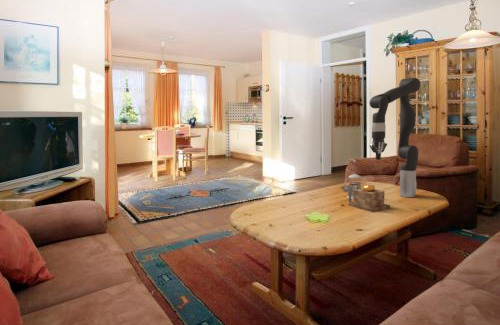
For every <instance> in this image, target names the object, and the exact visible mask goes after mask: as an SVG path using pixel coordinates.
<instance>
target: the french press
mask: <svg viewBox="0 0 500 325" xmlns="http://www.w3.org/2000/svg"><path fill="white" fill-rule="evenodd" d="M353 162H354V163H356V162H357V160H356V159H353ZM361 178H362V176H361V175H360V174H357V173H354V174H350V175H349V176H348V178H346V179H345V180H344V183H343V185H346V182H347V180H348V181H349V182H348V185H350V186H352V187H353V188H355V187H356V186H358V187H359V188H358V189H357V190H359V189H362V185H361V182H359V181H350V179H361ZM345 189H347V188H345ZM352 191H354V190H352ZM346 198H347V199H349V195H348V194H347V197H346ZM351 200H354V192H352V195H351Z"/></svg>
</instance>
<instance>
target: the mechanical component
mask: <svg viewBox="0 0 500 325" xmlns="http://www.w3.org/2000/svg"><path fill="white" fill-rule="evenodd" d="M346 188H347V189H346ZM358 188H359V187H358V186H356V187H355V188H353V187H352V186H350V184H348V185H346V184H345V185H344V184H343V185H341V187H340V189H342V192H344V193H347V196H348V195H349V198H348V203H350V202H352V199H351V195H352V193H353V192H354V191H353V190H357V189H358ZM358 190H359V189H358Z"/></svg>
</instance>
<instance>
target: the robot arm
mask: <svg viewBox="0 0 500 325" xmlns="http://www.w3.org/2000/svg"><path fill="white" fill-rule="evenodd" d="M420 88H421V80H420V79H419V78H418V77H408V78H402V79H400V82H399V84H398V86H397V87H394V88H391V89H389V90H387V91H385V92H384V93H380V94H377V95H373V96H372V97H371V98H370V100H369V106H370V107H371V109H375V110H376V109H378V110H377V112H374V113H373V114H372V120H371V121H372V124H371V139H372V142H371V144H369V148H370V149H371V151H372V153H375V159H376V160H378V161H380V160H382V159H381V158H382V153H384V151H385V150H386V147H387V146H388V143H386V142H385V139H386V115H387V114H386V113H387V111H388V107H389V104H390V103H393V102H395V101H396V100H399V107H400V108H399V110H400V111H399V140H398V148H397V154H398V157H399V158H400V159H403V160H406V161H405V163H404V164H401V165H400V172H399V177H400V178H399V180H400V181H399V196H400V197H404V198H415V197H416V196H417V185H418V184H417V168H418V163H419V162H418V161H419V149H418V147H417V146H416V145H411V144H410V143H409V140H410V137H411V134H412V133H413V131H414V129H415V127H416V122H417V120H416V119H417V116H416V111H415V109H414V108H413V106H412V104H411V102H410V99H409V98H410V97H409V95H410V94H413V93H417V92H418V91H420Z"/></svg>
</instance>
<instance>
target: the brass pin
mask: <svg viewBox="0 0 500 325" xmlns="http://www.w3.org/2000/svg"><path fill="white" fill-rule="evenodd" d="M375 186H376V185H374V184H364V185H363V189H364V191H366V192H374V191H375V189H376V188H375Z"/></svg>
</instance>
